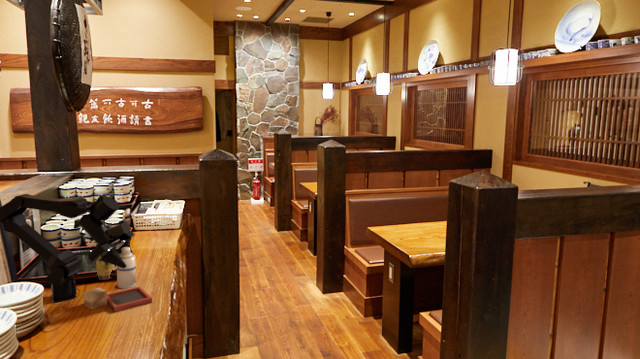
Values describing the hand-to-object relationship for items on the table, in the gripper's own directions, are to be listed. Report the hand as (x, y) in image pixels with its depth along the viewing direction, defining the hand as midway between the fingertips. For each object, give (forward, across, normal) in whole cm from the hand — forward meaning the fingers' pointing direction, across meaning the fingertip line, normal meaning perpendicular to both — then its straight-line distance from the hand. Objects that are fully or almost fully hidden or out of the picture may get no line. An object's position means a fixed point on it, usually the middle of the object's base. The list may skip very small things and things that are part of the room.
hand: (130, 264), depth 141 cm
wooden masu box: (+2, -3, +17) cm, 17 cm away
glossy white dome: (+4, +13, +16) cm, 21 cm away
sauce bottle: (-4, +18, +24) cm, 30 cm away
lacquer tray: (+8, 0, +10) cm, 13 cm away
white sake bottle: (+4, 0, +6) cm, 7 cm away
